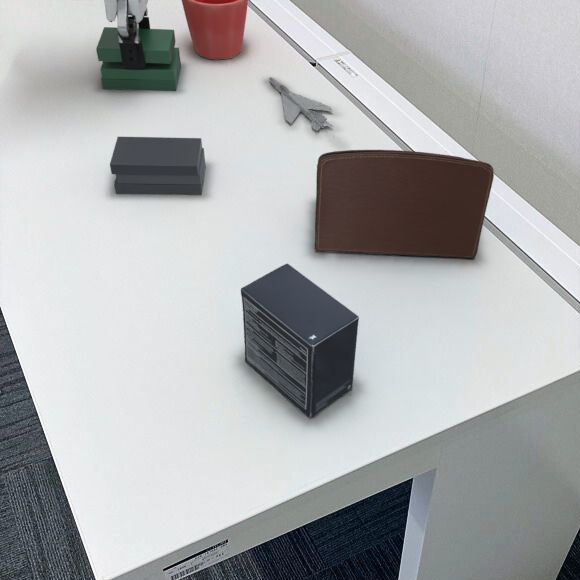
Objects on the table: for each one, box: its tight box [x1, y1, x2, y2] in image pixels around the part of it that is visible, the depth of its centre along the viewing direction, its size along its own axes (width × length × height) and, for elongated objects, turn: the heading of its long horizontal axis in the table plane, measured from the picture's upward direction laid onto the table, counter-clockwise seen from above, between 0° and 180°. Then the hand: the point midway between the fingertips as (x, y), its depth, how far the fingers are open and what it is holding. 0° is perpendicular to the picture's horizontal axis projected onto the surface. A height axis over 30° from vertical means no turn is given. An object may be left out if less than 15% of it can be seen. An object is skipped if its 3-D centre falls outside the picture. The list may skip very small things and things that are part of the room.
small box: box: [240, 263, 360, 419], centre depth 76 cm, size 11×6×10 cm, turn 44°
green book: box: [95, 26, 176, 64], centre depth 116 cm, size 10×7×2 cm, turn 93°
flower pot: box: [181, 0, 249, 61], centre depth 124 cm, size 11×11×10 cm
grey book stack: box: [109, 136, 207, 196], centre depth 100 cm, size 11×6×4 cm, turn 93°
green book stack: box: [100, 46, 182, 92], centre depth 118 cm, size 11×8×3 cm
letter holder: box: [313, 149, 495, 260], centre depth 92 cm, size 10×20×14 cm, turn 90°
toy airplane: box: [268, 76, 335, 138], centre depth 114 cm, size 8×21×2 cm, turn 33°
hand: (137, 54), depth 117 cm, fingers closed on green book, 7 cm apart
